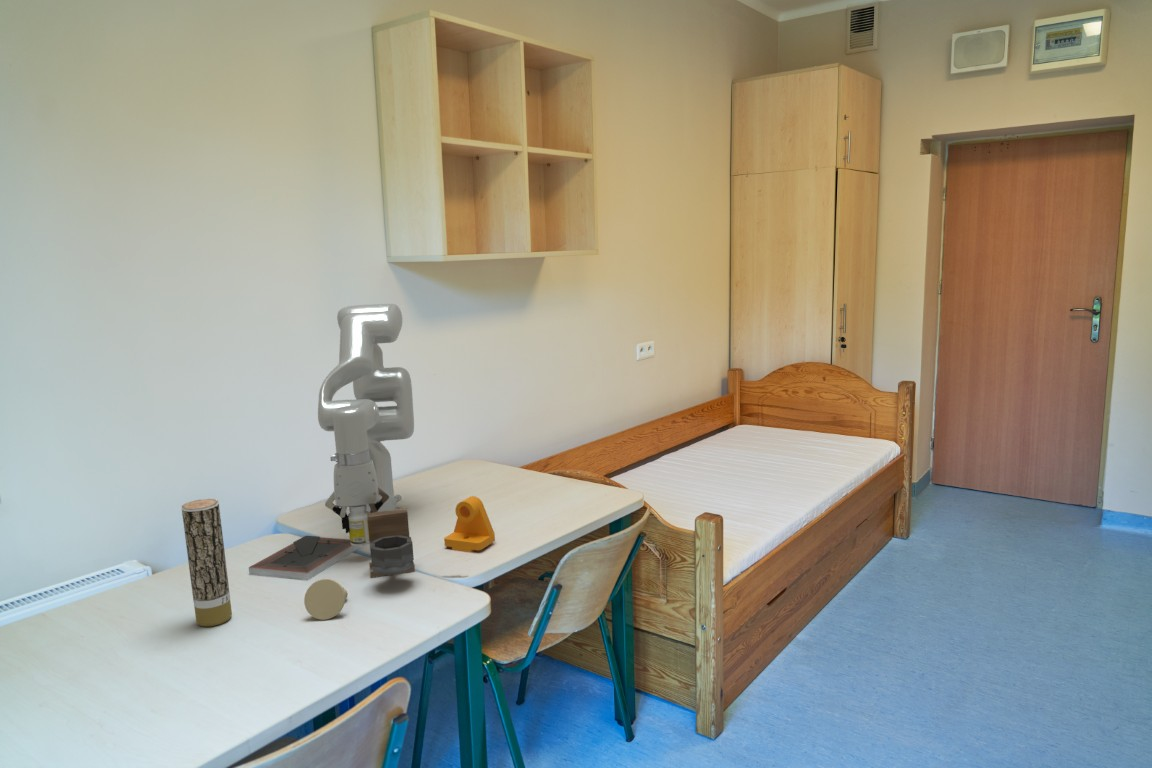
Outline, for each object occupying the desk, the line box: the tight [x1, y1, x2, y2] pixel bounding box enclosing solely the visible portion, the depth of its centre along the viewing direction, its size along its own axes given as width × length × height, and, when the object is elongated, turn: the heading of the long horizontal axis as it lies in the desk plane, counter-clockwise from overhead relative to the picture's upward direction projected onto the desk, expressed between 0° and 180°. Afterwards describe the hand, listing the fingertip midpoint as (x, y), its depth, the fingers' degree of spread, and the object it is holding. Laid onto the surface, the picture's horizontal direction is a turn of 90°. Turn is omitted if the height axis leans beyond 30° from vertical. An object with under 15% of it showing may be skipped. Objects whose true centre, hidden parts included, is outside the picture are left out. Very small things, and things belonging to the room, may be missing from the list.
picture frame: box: [248, 535, 362, 581], centre depth 197 cm, size 16×2×22 cm
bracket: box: [443, 495, 496, 553], centre depth 201 cm, size 11×7×12 cm, turn 66°
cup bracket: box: [367, 508, 416, 578], centre depth 182 cm, size 17×10×14 cm, turn 16°
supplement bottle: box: [347, 505, 370, 547], centre depth 195 cm, size 5×5×10 cm
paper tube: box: [181, 498, 233, 627], centre depth 163 cm, size 7×7×25 cm
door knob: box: [303, 578, 348, 621], centre depth 168 cm, size 10×8×8 cm
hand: (360, 528), depth 195 cm, fingers closed on supplement bottle, 5 cm apart
